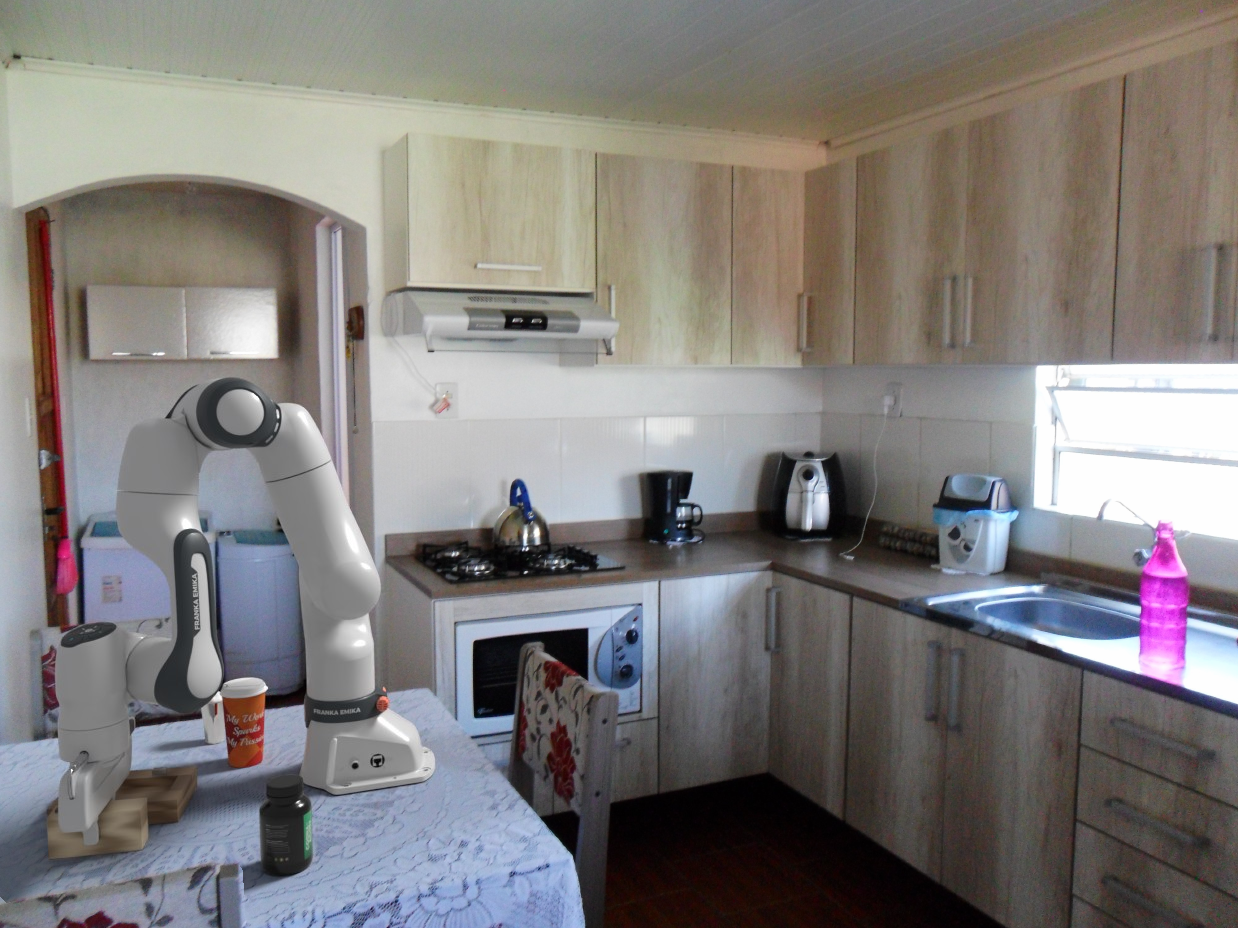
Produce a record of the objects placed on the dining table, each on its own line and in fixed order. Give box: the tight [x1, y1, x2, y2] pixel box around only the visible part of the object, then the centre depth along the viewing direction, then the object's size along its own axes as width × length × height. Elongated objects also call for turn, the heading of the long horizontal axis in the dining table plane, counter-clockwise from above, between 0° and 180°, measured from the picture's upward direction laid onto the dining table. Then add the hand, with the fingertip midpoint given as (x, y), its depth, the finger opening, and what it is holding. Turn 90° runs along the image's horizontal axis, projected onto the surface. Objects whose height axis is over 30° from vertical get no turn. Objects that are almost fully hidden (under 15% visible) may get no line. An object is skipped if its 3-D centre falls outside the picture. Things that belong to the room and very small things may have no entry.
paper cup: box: [219, 677, 269, 769], centre depth 171 cm, size 8×8×14 cm
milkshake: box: [200, 691, 226, 745], centre depth 181 cm, size 5×5×10 cm
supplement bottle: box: [258, 773, 314, 877], centre depth 135 cm, size 7×7×12 cm
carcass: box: [46, 765, 199, 825], centre depth 153 cm, size 18×13×4 cm
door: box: [46, 797, 149, 860], centre depth 140 cm, size 12×4×6 cm, turn 104°
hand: (98, 833), depth 140 cm, fingers closed on door, 4 cm apart
